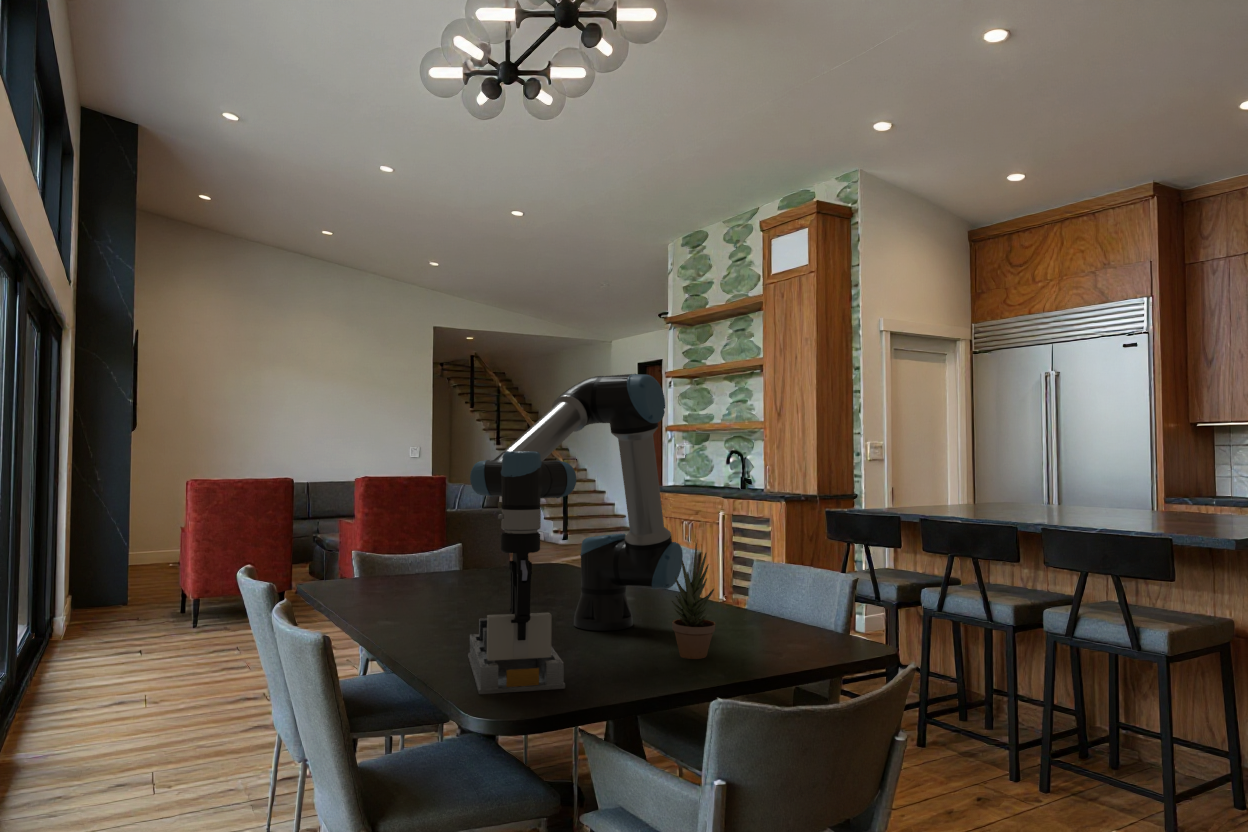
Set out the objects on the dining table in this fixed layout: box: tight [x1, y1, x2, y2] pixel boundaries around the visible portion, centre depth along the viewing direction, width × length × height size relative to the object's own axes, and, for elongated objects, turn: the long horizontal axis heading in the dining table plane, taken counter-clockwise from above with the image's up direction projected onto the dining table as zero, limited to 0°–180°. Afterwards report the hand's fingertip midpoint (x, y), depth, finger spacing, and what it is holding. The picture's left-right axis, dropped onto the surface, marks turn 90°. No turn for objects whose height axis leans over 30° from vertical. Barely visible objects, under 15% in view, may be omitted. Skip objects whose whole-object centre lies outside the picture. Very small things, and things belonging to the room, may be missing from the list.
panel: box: [486, 612, 552, 661], centre depth 159 cm, size 3×12×8 cm, turn 105°
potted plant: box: [671, 542, 716, 660], centre depth 183 cm, size 10×10×25 cm
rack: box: [467, 617, 566, 695], centre depth 169 cm, size 29×16×9 cm, turn 14°
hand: (519, 654), depth 159 cm, fingers closed on panel, 3 cm apart
